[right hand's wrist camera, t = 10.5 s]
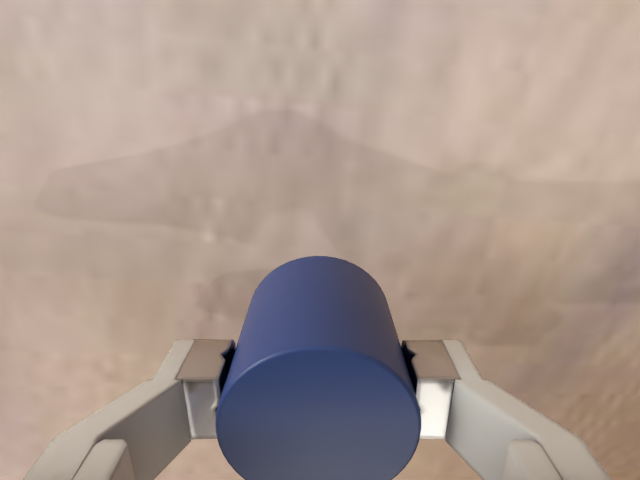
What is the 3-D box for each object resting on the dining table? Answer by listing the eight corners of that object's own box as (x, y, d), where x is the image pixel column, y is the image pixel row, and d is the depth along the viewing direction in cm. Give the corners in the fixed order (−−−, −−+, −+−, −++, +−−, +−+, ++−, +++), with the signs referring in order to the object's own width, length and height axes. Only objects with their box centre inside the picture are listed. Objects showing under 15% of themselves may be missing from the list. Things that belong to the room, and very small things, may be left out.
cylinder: (255, 376, 14) (226, 506, 9) (242, 256, 12) (200, 350, 8) (386, 373, 14) (416, 503, 9) (391, 252, 12) (429, 344, 8)
